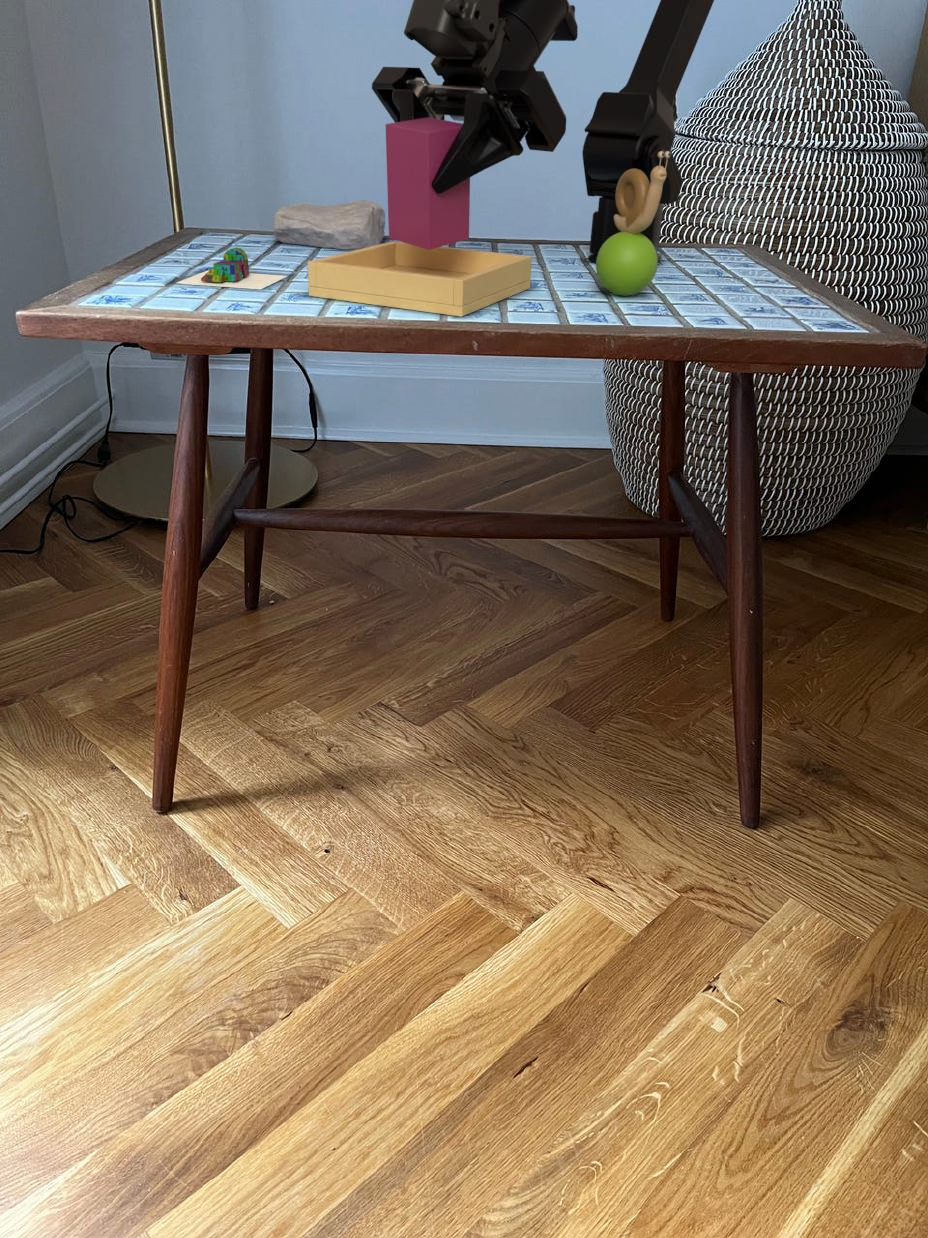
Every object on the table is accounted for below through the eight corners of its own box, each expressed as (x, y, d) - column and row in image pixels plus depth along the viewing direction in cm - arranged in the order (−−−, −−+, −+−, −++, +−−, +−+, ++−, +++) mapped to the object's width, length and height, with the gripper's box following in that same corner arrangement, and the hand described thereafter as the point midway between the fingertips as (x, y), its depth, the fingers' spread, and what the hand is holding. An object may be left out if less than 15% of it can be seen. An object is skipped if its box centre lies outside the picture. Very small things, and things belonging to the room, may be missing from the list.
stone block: (374, 267, 104) (389, 235, 112) (370, 222, 101) (386, 192, 109) (269, 265, 105) (290, 234, 113) (262, 221, 102) (284, 191, 110)
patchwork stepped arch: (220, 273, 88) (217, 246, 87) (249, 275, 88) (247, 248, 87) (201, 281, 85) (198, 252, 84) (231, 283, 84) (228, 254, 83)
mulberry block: (429, 227, 86) (428, 116, 81) (469, 238, 83) (471, 124, 78) (388, 238, 83) (385, 123, 78) (428, 250, 80) (428, 132, 75)
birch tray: (530, 288, 88) (532, 256, 86) (461, 316, 76) (462, 280, 75) (392, 271, 93) (391, 240, 92) (308, 295, 81) (306, 261, 80)
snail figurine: (622, 305, 82) (639, 150, 76) (581, 291, 87) (594, 145, 81) (672, 301, 85) (692, 151, 79) (629, 287, 90) (645, 145, 84)
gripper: (387, -44, 80) (286, 104, 79) (554, -58, 69) (441, 115, 67) (452, 66, 89) (363, 201, 88) (610, 71, 78) (510, 225, 76)
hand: (413, 186), depth 80 cm, fingers closed on mulberry block, 5 cm apart
